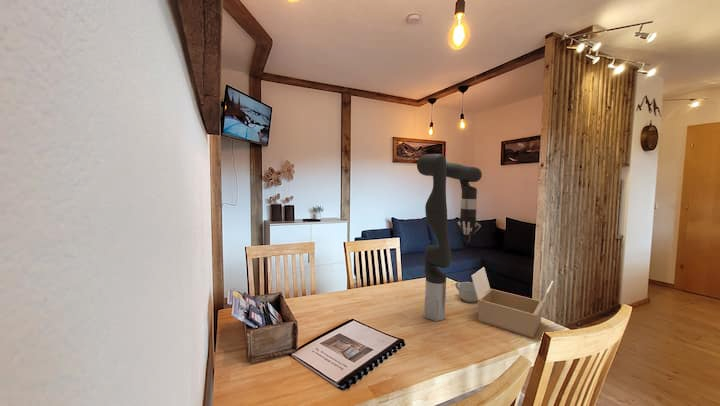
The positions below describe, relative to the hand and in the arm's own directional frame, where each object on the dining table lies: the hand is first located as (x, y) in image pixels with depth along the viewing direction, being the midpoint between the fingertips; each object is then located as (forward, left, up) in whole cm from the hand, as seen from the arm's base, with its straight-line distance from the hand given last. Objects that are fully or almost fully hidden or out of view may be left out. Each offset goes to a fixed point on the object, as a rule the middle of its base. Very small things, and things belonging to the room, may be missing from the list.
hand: (466, 241), depth 147 cm
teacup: (+8, +2, -33) cm, 34 cm away
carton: (-5, -22, -33) cm, 40 cm away
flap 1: (-5, -10, -17) cm, 20 cm away
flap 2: (-5, -35, -17) cm, 39 cm away
